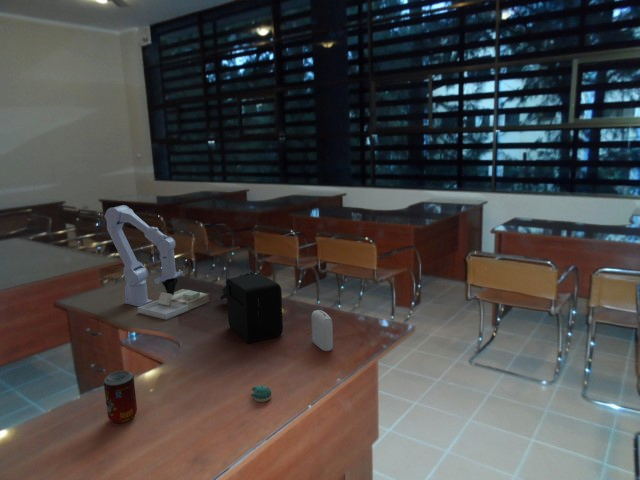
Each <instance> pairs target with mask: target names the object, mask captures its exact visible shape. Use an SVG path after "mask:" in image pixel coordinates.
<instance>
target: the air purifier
mask: <svg viewBox="0 0 640 480" xmlns="http://www.w3.org/2000/svg"><path fill="white" fill-rule="evenodd" d="M225 286H226V288H227V299H226V302H227V304H226V305H227V316H228V317H227V318H228V320H227V321H228V325H229V328H230V330H232V331H233V332H234V333H235V334H236V335H237V336H238V337H239V338H241V340H243V342H245V343H246V344H250V343H254V342H258V341H264V340H267V339H271V338H275V337H279V336H281V335H282V334H283V330H284V321H283V317H284V316H283V299H282V298H283V296H282V295H283V293H282V287H281V285H280V284H279V283H278V282H276V281H275V280H272V279H271V278H269V277H267V276H265V275H264V274H262V273H258V272H257V273H254V274H252V275H246V276H240V277H237V276H235V277H230V278H227V279H226V281H225Z"/></svg>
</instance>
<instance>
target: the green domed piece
mask: <svg viewBox="0 0 640 480" xmlns="http://www.w3.org/2000/svg"><path fill="white" fill-rule="evenodd" d="M251 391H252V393H251V394H250V397H251V398H254V399H255V401H256V402H259V403H264V402H268V401H270V399H271V398H272V391H271V388H269V387H268V386H266V385H255V386H253V387H251Z"/></svg>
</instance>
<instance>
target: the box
mask: <svg viewBox="0 0 640 480" xmlns="http://www.w3.org/2000/svg"><path fill="white" fill-rule="evenodd" d="M158 300H159V299H158ZM158 300H154V301H152V302H149V303H146V304H143V305H141V306H137V311H138V314H140V313H141V315H145V316H148V317H154V318H156V319H161V320H165V321H167V320H170V319H172V318H174V317H178V316H180V315H182V314H184V313H187V312H189V311H190V310H189V309H188V305H185V304H180V303H176V302H171V301H170V304H169V306H168V305H163V304H159V303H158Z"/></svg>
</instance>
